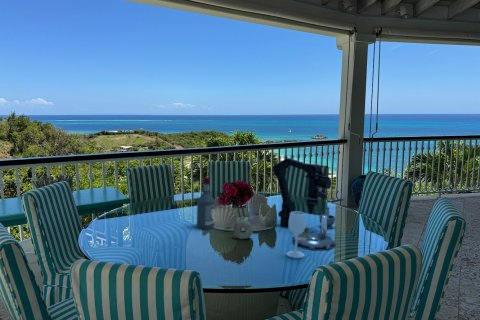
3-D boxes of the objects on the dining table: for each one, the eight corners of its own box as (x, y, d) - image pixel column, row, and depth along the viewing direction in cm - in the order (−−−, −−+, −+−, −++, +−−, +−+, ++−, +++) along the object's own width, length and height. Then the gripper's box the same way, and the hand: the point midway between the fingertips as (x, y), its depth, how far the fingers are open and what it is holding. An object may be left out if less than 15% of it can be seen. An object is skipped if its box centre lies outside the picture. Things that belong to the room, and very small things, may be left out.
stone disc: (233, 239, 206) (233, 221, 205) (233, 237, 209) (234, 219, 208) (252, 240, 205) (252, 222, 204) (252, 238, 209) (253, 220, 208)
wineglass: (284, 251, 188) (286, 210, 186) (302, 251, 189) (304, 210, 187) (288, 258, 179) (290, 215, 177) (306, 258, 180) (308, 215, 178)
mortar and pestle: (335, 230, 229) (336, 210, 228) (319, 228, 230) (320, 209, 229) (333, 225, 240) (334, 206, 239) (318, 224, 242) (319, 205, 240)
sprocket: (311, 252, 187) (312, 225, 185) (283, 239, 206) (284, 214, 205) (344, 245, 198) (345, 220, 197) (315, 233, 218) (316, 210, 217)
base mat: (311, 253, 187) (311, 252, 187) (283, 240, 206) (283, 239, 206) (343, 246, 199) (343, 246, 199) (315, 234, 218) (315, 234, 218)
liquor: (194, 227, 224) (195, 178, 221) (203, 224, 232) (204, 176, 229) (207, 230, 220) (209, 179, 217) (215, 226, 228) (217, 177, 225)
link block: (299, 233, 219) (299, 227, 219) (299, 232, 223) (300, 225, 222) (308, 234, 218) (308, 228, 218) (308, 232, 222) (308, 226, 221)
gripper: (327, 189, 209) (325, 217, 211) (326, 184, 227) (324, 209, 229) (307, 188, 211) (305, 215, 213) (307, 182, 229) (305, 208, 231)
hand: (311, 212), depth 221 cm, fingers open, 9 cm apart
